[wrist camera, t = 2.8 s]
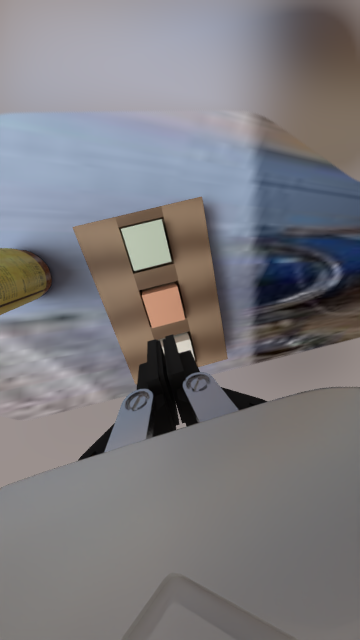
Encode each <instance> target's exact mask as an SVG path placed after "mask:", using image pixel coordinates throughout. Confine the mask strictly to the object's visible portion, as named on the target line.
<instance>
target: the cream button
mask: <svg viewBox="0 0 360 640" xmlns="http://www.w3.org/2000/svg"><path fill="white" fill-rule="evenodd" d="M163 339H165V338H163ZM163 339H159V340H160V342H161V345H162V349H163V352H164V348H163V341H162V340H163ZM174 339H175V342H176V346H177V349H178V352H179V353H181V352H185V351H188V350H191V352H192V355H193V357H194V354H193V350H192V346H191V341H190V338H189V336H188V333H187V332H185V333H181V334H177V335H174ZM159 340H158V341H159ZM194 359H195V358H194Z"/></svg>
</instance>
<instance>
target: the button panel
mask: <svg viewBox="0 0 360 640" xmlns="http://www.w3.org/2000/svg"><path fill="white" fill-rule="evenodd" d="M160 219H162V223H163V227H164V232H165V236H166V240H167V244H168V248H169V253H170V257H171V261H172V262H168V263H164V264H160V265H156V266H152V267H148V268H144V269H140V270H136V271H134V269H133V266H132V263H131V259H130V256H129V253H128V250H127V247H126V244H125V240H124V237H123V234H122V231H121V229H123V228H127V227H131V226H135V225H139V224H144V223H148V222H152V221H156V220H160ZM73 230H74V232H75V235H76V237H77V240H78V242H79V245H80V247H81V250H82V252H83V255H84V257H85V260H86V262H87V265H88V267H89V270H90V272H91V275H92V277H93V280H94V282H95V285H96V287H97V290H98V292H99V295H100V297H101V299H102V302H103V304H104V307H105V309H106V312H107V314H108V317H109V319H110V322H111V324H112V327H113V329H114V332H115V334H116V337H117V339H118V342H119V344H120V347H121V349H122V352H123V354H124V357H125V359H126V362H127V364H128V367H129V369H130V372H131V374H132V377H133V379H134V382H135V384H137V381H138V371H139V365H140V364H143V363H146V362H147V342H148V341H151V340H154V339H156V340H157V341H158V340H159V339H163V338H165V336H169V335H172V334H173V335H177V334H181V333H185V332H187V333H188V336H189V338H190V341H191V346H192V350H193V354H194V358H195V362H196V364H197V366H198V367H200V366H204V365H207V364H211V363H214V362H218V361H222V360H225V359H228V358H227V352H226V346H225V339H224V333H223V327H222V320H221V314H220V308H219V301H218V295H217V289H216V282H215V276H214V270H213V263H212V257H211V251H210V244H209V238H208V232H207V225H206V219H205V213H204V207H203V200H202V197H198V198H194V199H189V200H185V201H181V202H177V203H173V204H168V205H164V206H160V207H156V208H151V209H147V210H143V211H139V212H134V213H130V214H126V215H122V216H118V217H113V218H109V219H105V220H101V221H96V222H92V223H88V224H84V225H80V226H75V227H73ZM171 283H175V284H176V285H177V286H178V291H179V295H180V299H181V303H182V308H183V312H184V316H185V320H181V321H178V322H174V323H170V324H166V325H163V326H159V327H155V328H152V326H151V323H150V320H149V317H148V313H147V310H146V307H145V304H144V301H143V298H142V293H143V291H144V290H147V289H151V288H155V287H159V286H163V285H167V284H171Z"/></svg>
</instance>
